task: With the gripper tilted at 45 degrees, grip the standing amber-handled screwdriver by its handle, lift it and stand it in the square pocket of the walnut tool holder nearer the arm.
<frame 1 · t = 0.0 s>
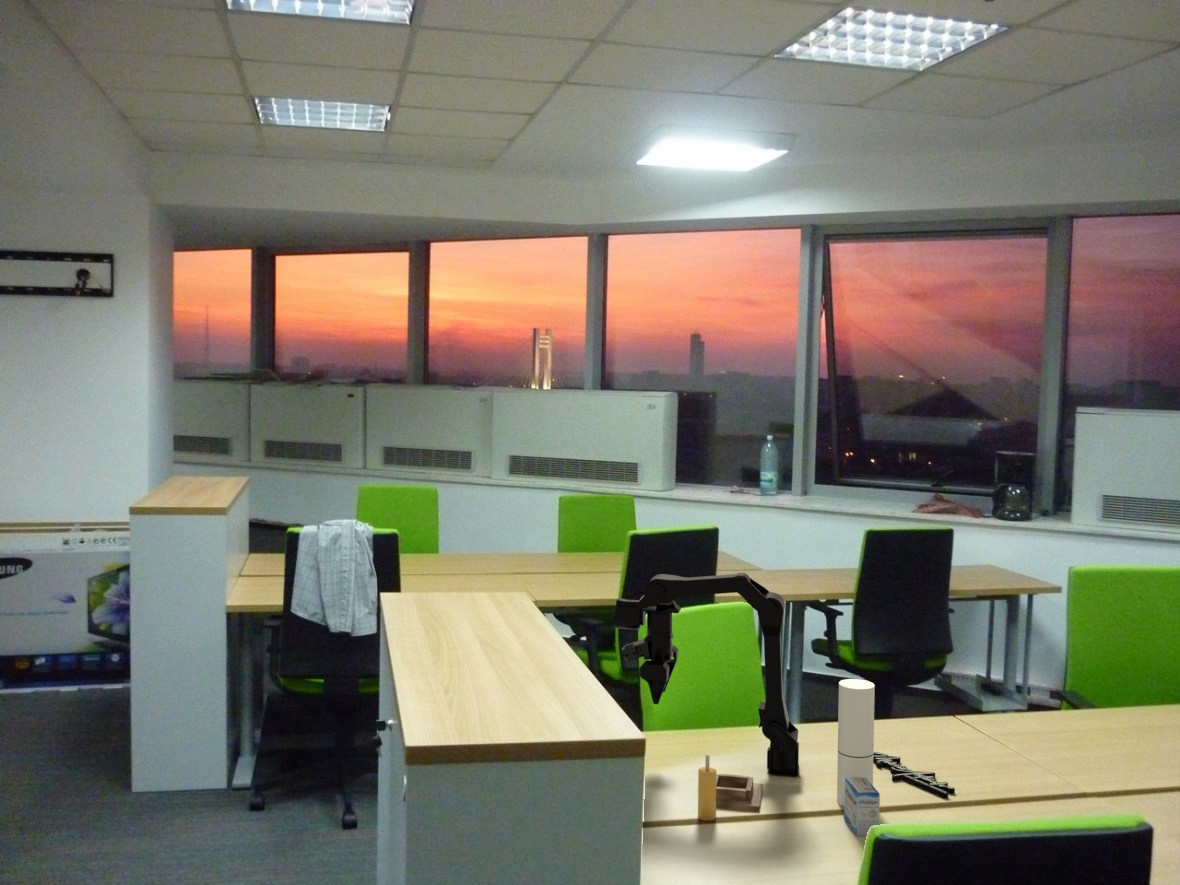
hand: (659, 697, 238), 15 cm above the table, tool pointing down, fingers open, 9 cm apart
medicine box: (861, 828, 203), on the table
cylindrical container: (854, 803, 215), on the table
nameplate: (903, 777, 230), on the table
tool holder: (732, 797, 218), on the table
screwdriver: (707, 816, 208), on the table
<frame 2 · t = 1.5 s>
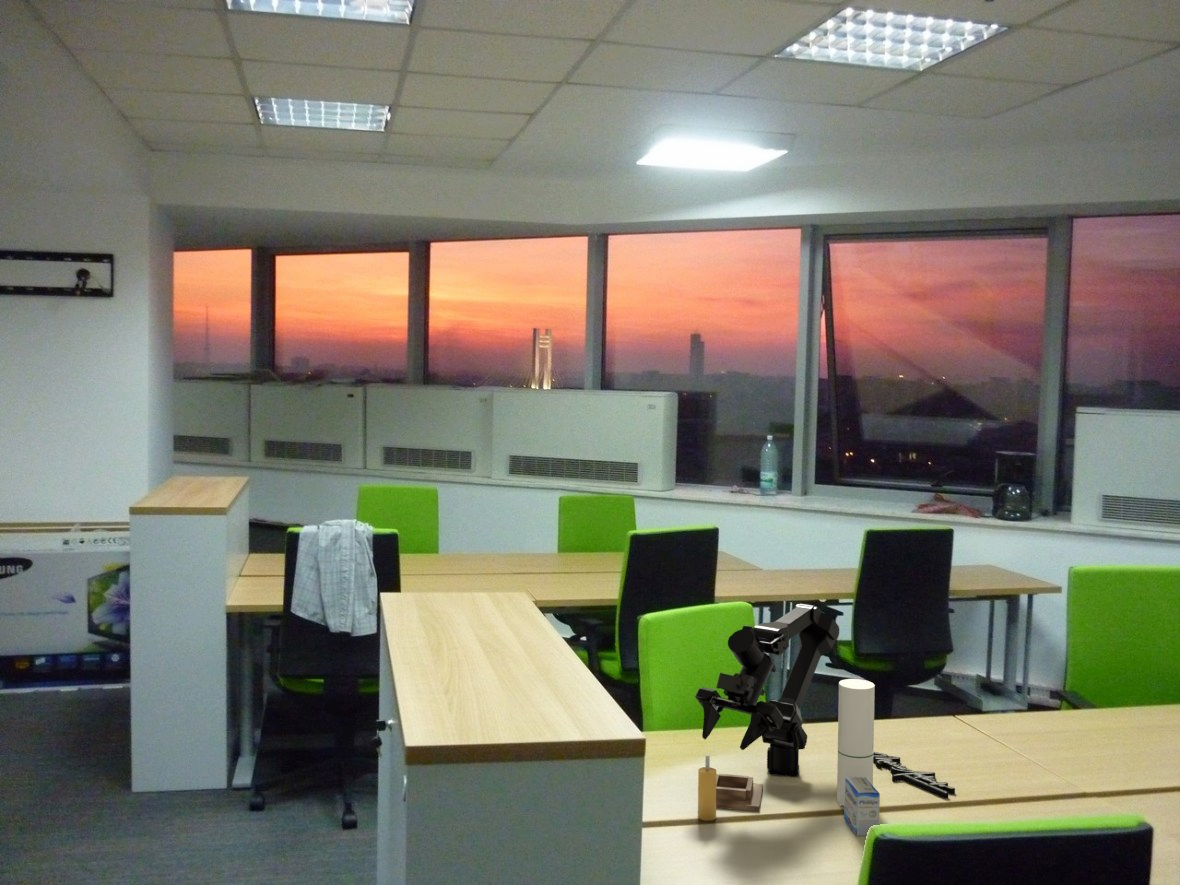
hand: (722, 743, 212), 13 cm above the table, tool tilted 45°, fingers open, 9 cm apart
nothing on the table moved.
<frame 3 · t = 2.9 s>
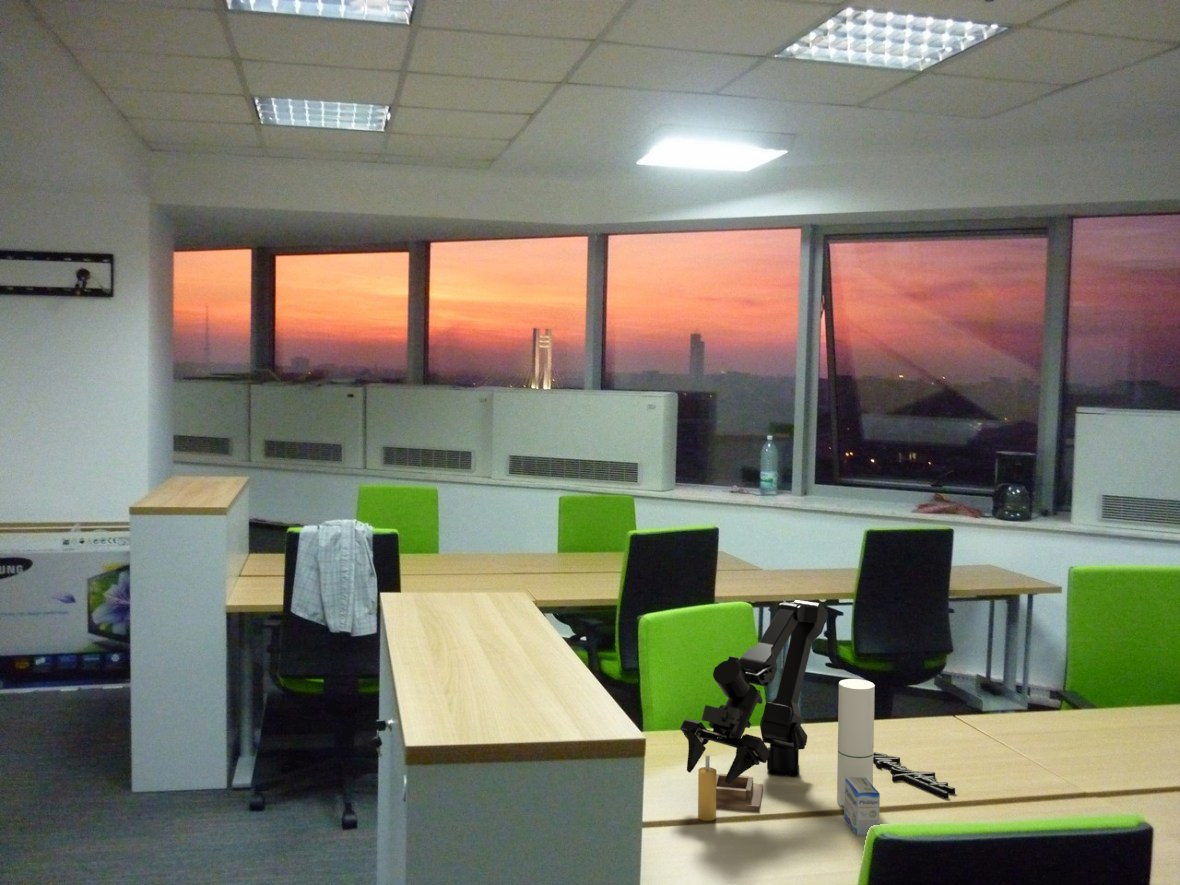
hand: (707, 777, 207), 8 cm above the table, tool tilted 45°, fingers open, 9 cm apart
nothing on the table moved.
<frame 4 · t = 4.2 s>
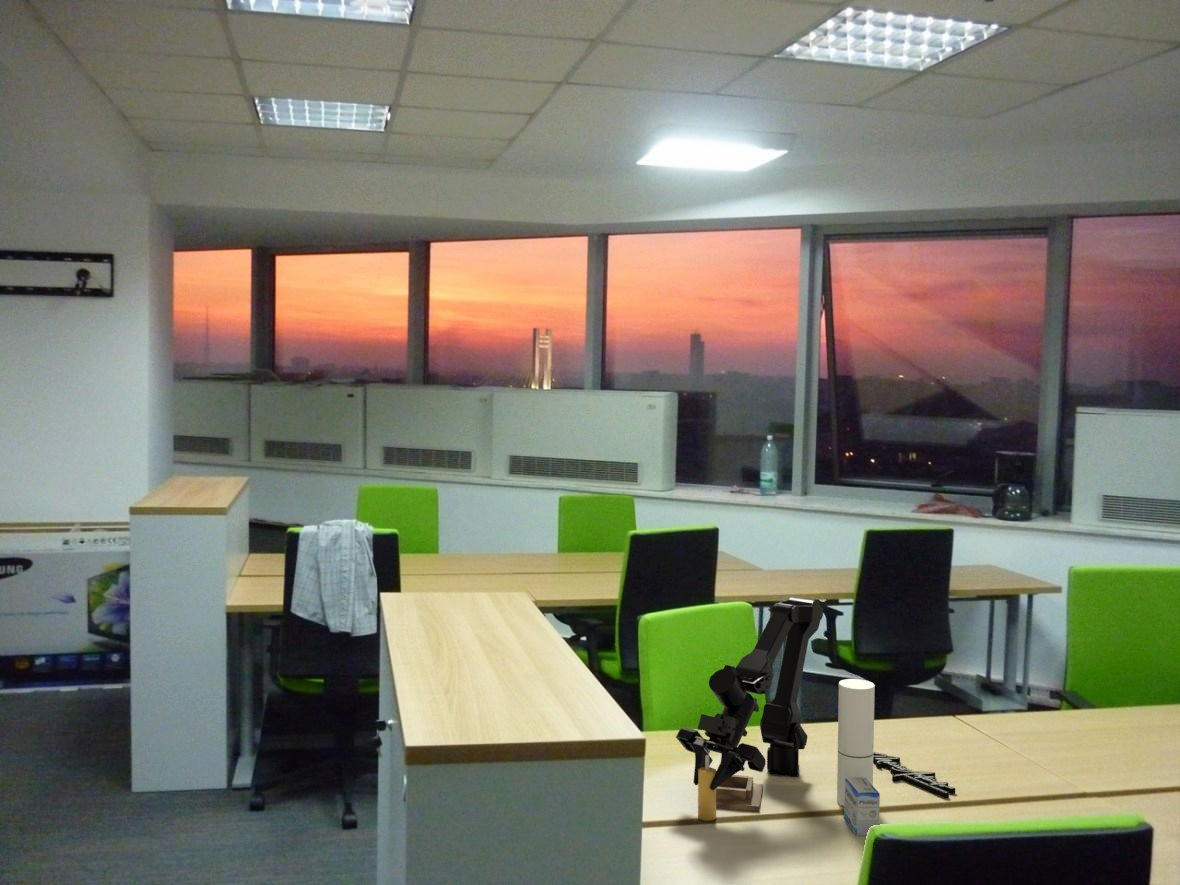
hand: (703, 786, 207), 7 cm above the table, tool tilted 45°, fingers closed on screwdriver, 4 cm apart
screwdriver: (707, 816, 208), on the table, touching gripper
everything else where it was.
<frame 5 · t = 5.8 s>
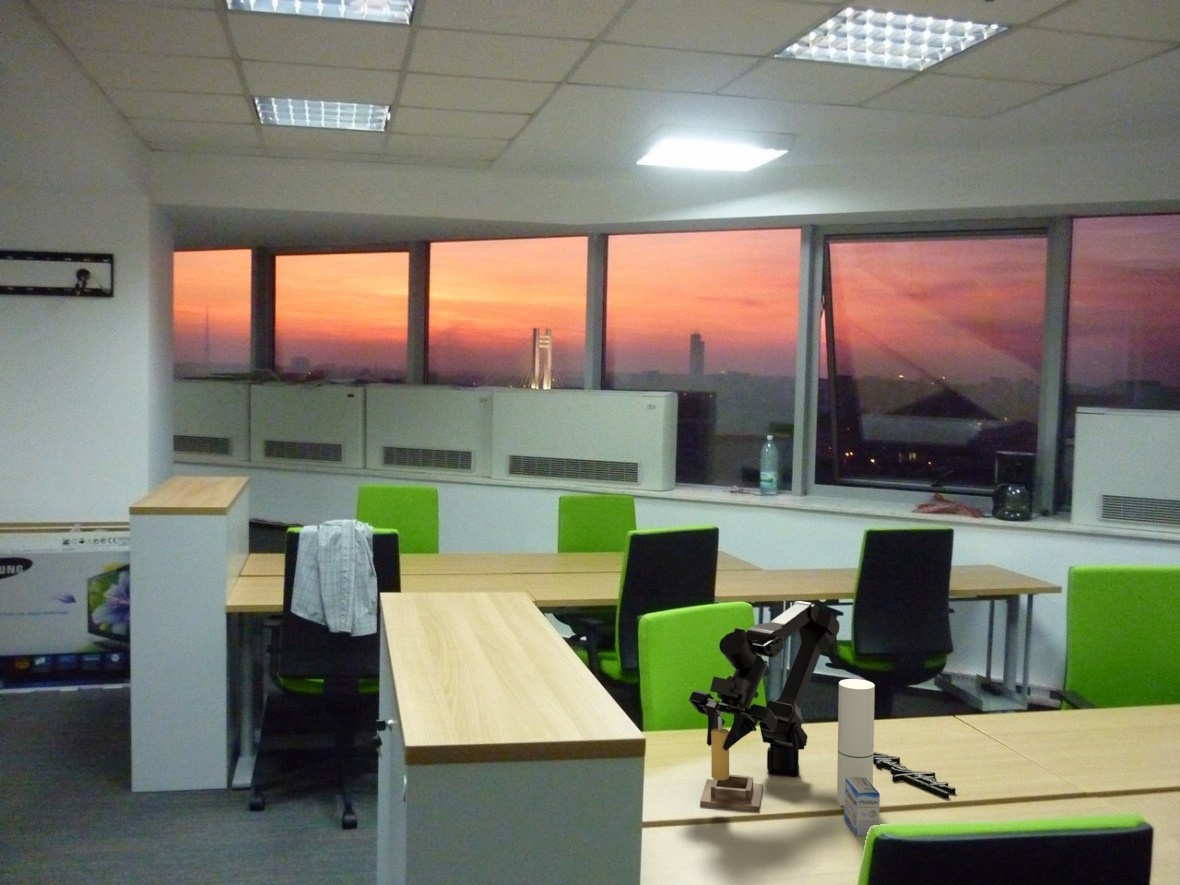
hand: (716, 747, 211), 13 cm above the table, tool tilted 45°, fingers closed on screwdriver, 4 cm apart
screwdriver: (720, 776, 212), point 6 cm above the table, touching gripper
everything else where it was.
when the fingers open (9 cm above the table, at t = 7.6 s): screwdriver drops 1 cm, resting on tool holder.
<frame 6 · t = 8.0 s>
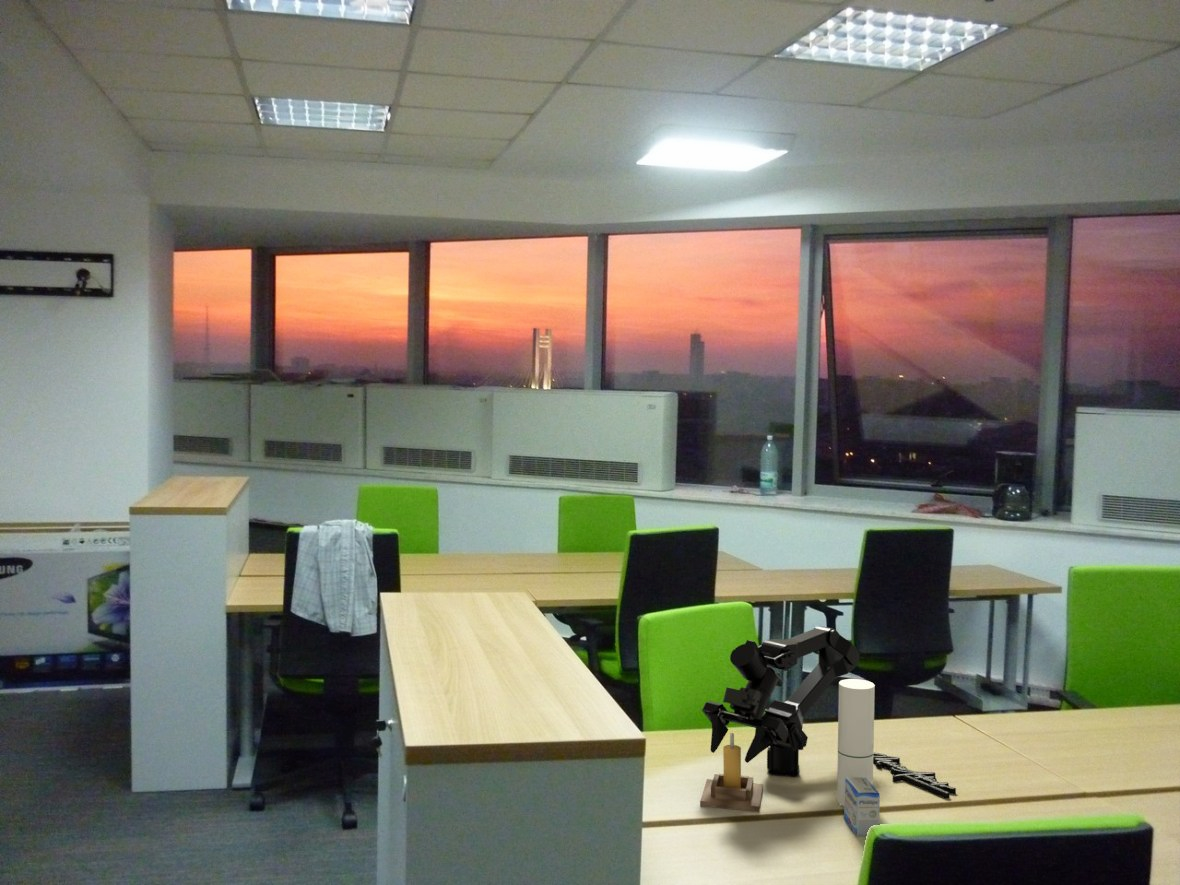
hand: (728, 756, 216), 9 cm above the table, tool tilted 45°, fingers open, 8 cm apart
screwdriver: (732, 792, 218), point 1 cm above the table, touching tool holder
everything else where it was.
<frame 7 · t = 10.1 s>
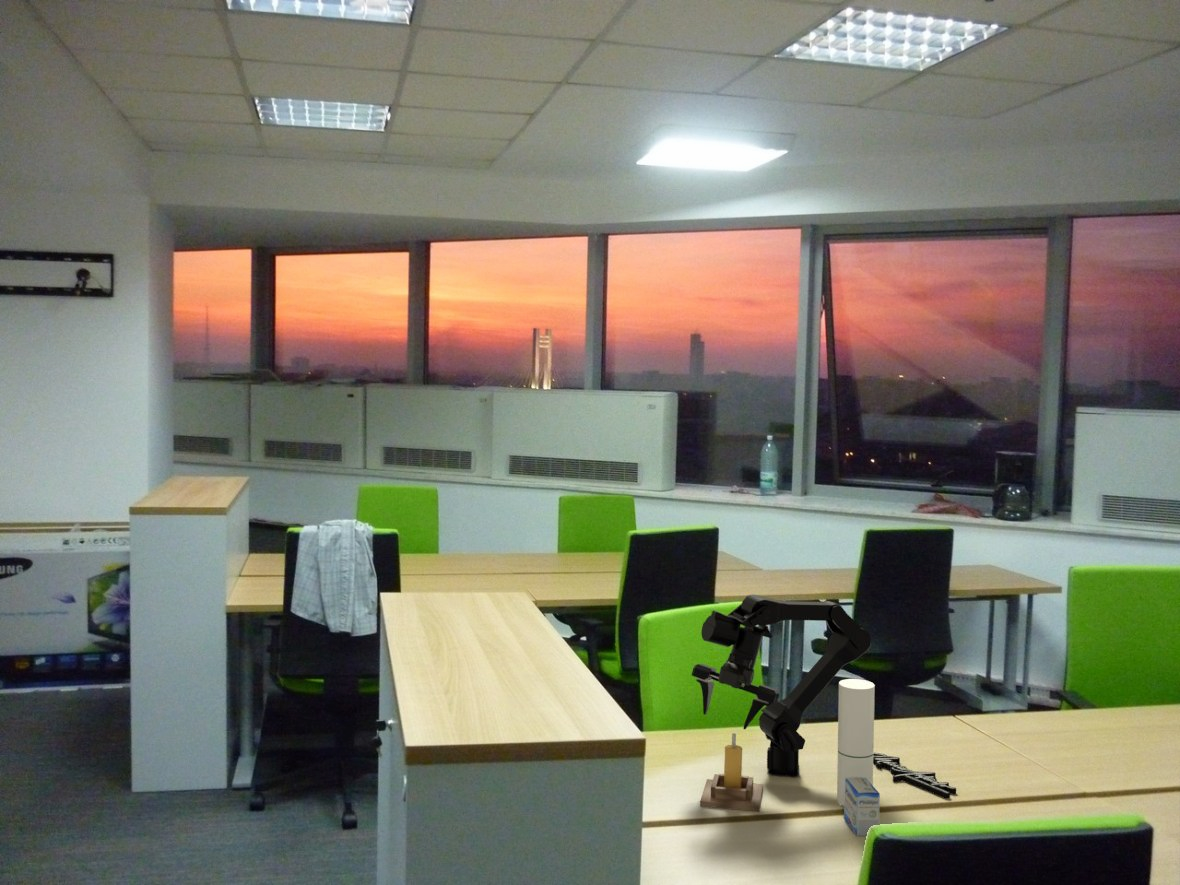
hand: (724, 721, 226), 13 cm above the table, tool tilted 20°, fingers open, 9 cm apart
nothing on the table moved.
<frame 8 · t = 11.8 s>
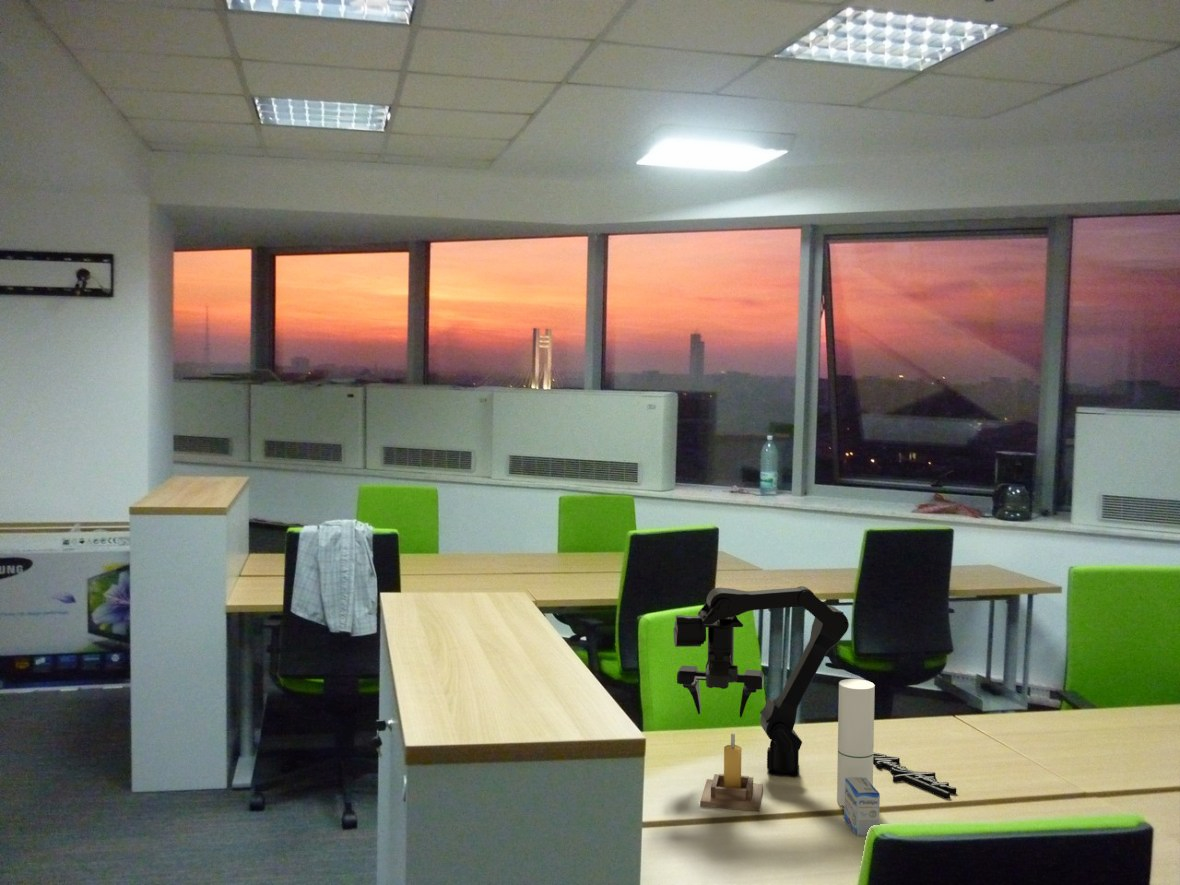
hand: (720, 715, 231), 13 cm above the table, tool pointing down, fingers open, 9 cm apart
nothing on the table moved.
at the end: screwdriver 0.1 cm off-centre on the tool holder, point 1.1 cm above the tool holder's base; screwdriver tilted 2°; the gripper is holding nothing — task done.
